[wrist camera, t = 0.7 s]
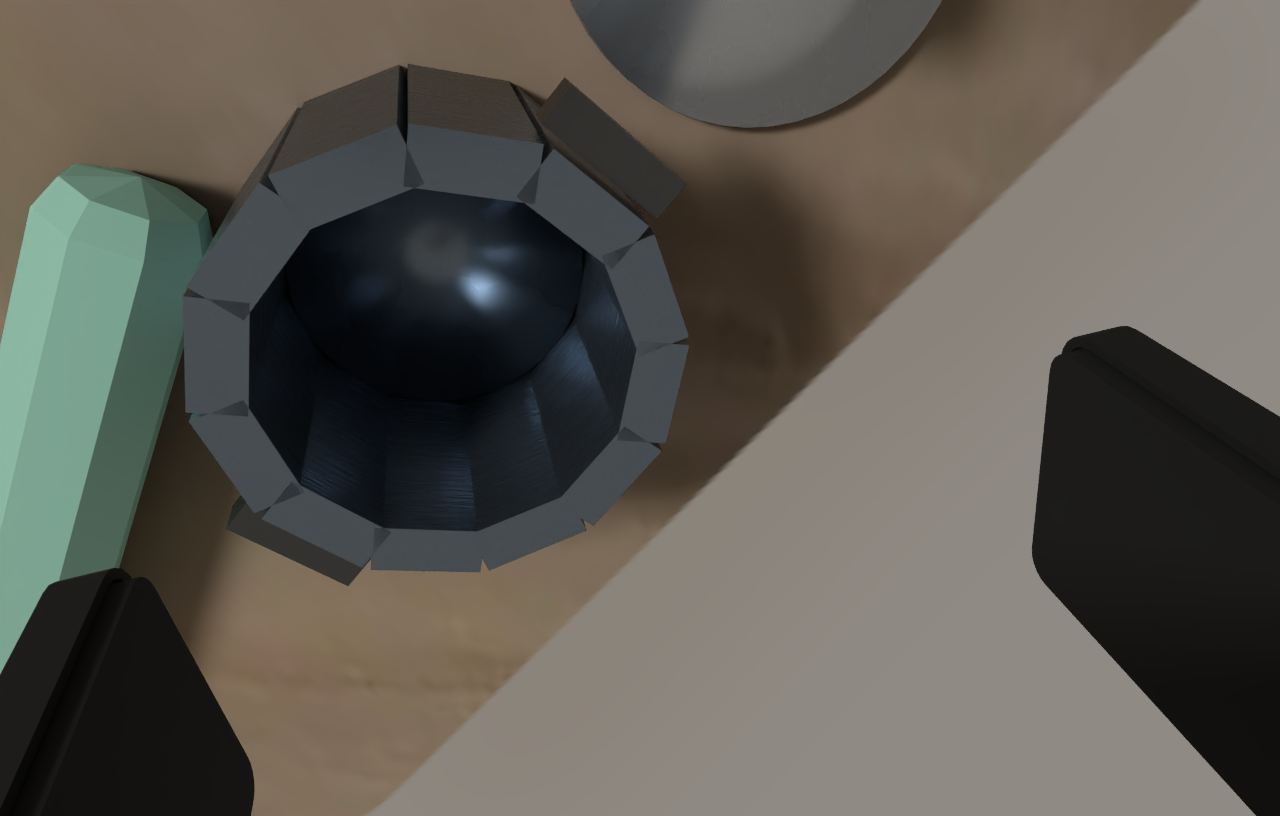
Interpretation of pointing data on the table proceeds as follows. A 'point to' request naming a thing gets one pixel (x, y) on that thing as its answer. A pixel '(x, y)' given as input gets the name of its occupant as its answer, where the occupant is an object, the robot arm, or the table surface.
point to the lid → (753, 52)
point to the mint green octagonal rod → (87, 373)
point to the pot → (435, 326)
